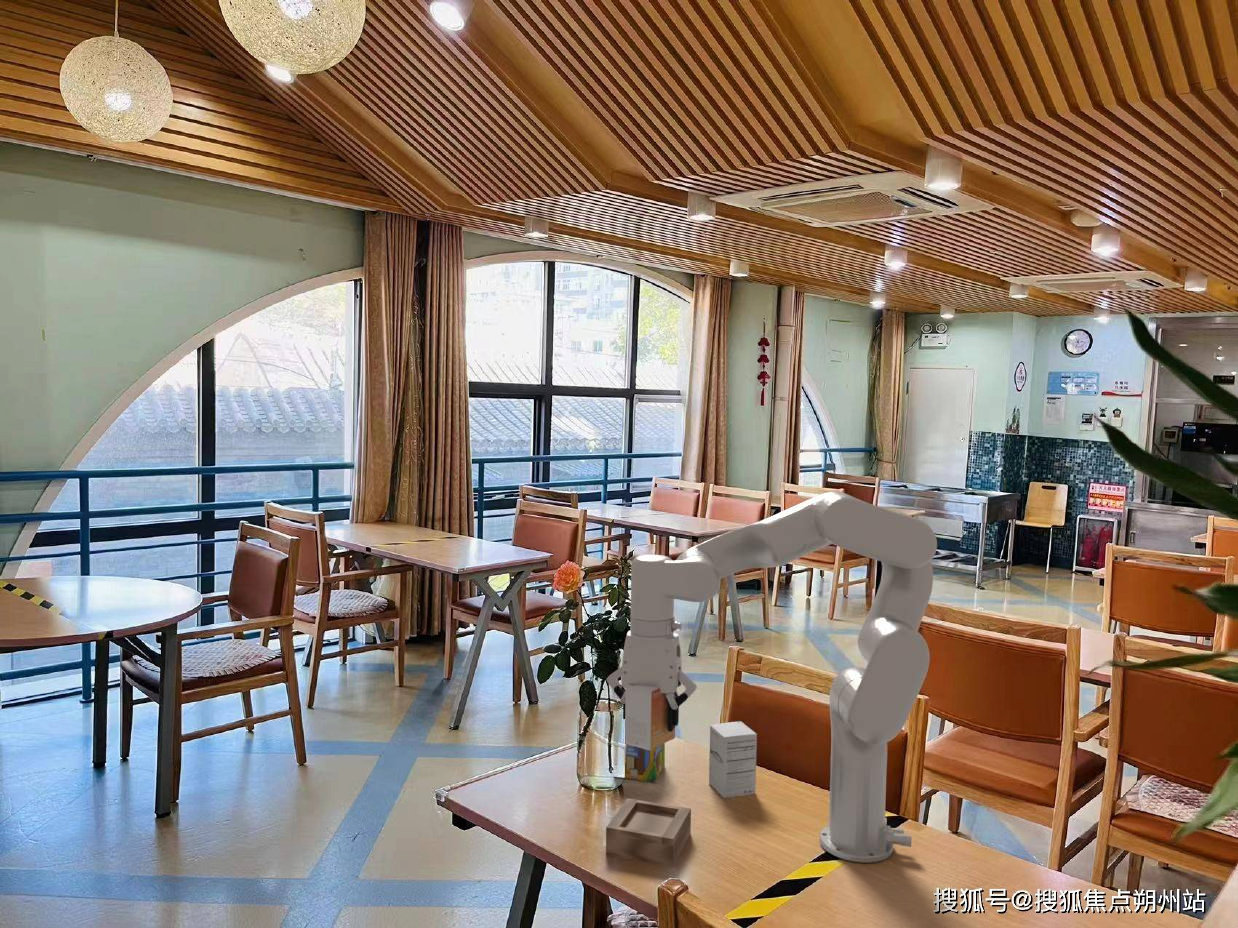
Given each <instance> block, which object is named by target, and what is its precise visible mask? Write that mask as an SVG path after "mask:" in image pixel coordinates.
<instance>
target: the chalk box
mask: <svg viewBox="0 0 1238 928" xmlns="http://www.w3.org/2000/svg"><path fill="white" fill-rule="evenodd" d="M665 745H666V744H665V743H664V744H662V745H660V746H658V747H656V748H654V749H653V750H651V751H649V750H646V749H642V748H639V747H635V746H632V745H628V744H627V749H626V763H625V779H627V780H632V781H633V780H634V781H635V780H636V781H642V782H650V783H656V781H657V780H658V778H659V776H660V774H661V773H662V772H663V770H664V769H665V765H666V764H665V763H666V762H665V761H666V760H665V758H666V757H665V754H666V752H665V750H666V749H665V747H666V746H665Z"/></svg>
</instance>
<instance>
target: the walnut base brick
mask: <svg viewBox="0 0 1238 928" xmlns="http://www.w3.org/2000/svg"><path fill="white" fill-rule="evenodd" d="M691 820H692V808H690V807H689V808H688V807H683V806H678V805H677V806H676V805H671V804H666V803H664V804H663V803H658V802H653V801H648V800H647V801H646V800H639V799H634V798H629V797H628V798H627V799H626V800H625V802H624V803H623V805H622V806H621V807H620V808H619V810H618V811H617V812H616V813H615V815H614V816H613V818H612V819H611V820H610V821H609V823H608V824H607V826H606V827H605V831H606V832H605V839H606V840H605V855H606V856H610V857H611V856H612V857H617V858H621V859H622V858H623V859H627V860H633V861H638V862H645V863H648V864H655V865H659V866H665V867H669V868H670V867H671V868H673V867H674V866H675V864H676V862H677V860H678V859H679V857H680V855H681V854H682V853H681V852H682V851H683V849H684V848H685V846H686V844H687V842H688V840H689V838H690V836H691V835H692V834H691V829H692V828H691V825H692V824H691V822H692V821H691Z"/></svg>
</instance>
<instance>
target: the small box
mask: <svg viewBox="0 0 1238 928" xmlns="http://www.w3.org/2000/svg"><path fill="white" fill-rule="evenodd" d="M625 690H626V701H625V744H628V745H632V746H635V747H639V748H642V749H646V750H649V751H651V750H653V749H654V748H656V747H658V746H660V745H662V744H664V743H667V742H670V741H673V740H674V739H675V737H676V727H675V728H674V729H673V731H672V732H669V731H668V709H669V708H670V704H669V702H668V699H667V697H666V695H665V694H662V693H661V692H660V688H657V687H650V686H638V685H626V688H625Z"/></svg>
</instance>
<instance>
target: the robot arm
mask: <svg viewBox="0 0 1238 928" xmlns="http://www.w3.org/2000/svg"><path fill="white" fill-rule="evenodd" d="M830 545H834V546H837V547H839V548H842V549H844V550H846V551H849V552H852V553H855V554H858V555H860V556H863V557H866V558H869V559H873V560H876V561H878V562H881V571H882V572H881V578H880V583H879V586H878V589H877V592H876V595H875V596H874V599H873V601H872V604H871V606H870V608H869V611H868V613H867V616H866V617H865V619H864V622H863V625H862V626H861V628H860V631H859V634H858V637H857V646H858V650H859V652H860V654H861V656H862V657H863V659H864V660H865V661H866V662H867V665H866V667H865V668H864V667H860V666H856V667H855V666H853V667H848V668H845V669H844V670H842V671H840V673H837V675H836V676H835V678H834V680H833V681H832V684H831V686H830V690H829V713H830V715H829V716H830V729H831V736H830V737H831V740H830V741H831V743H830V747H831V748H830V750H831V751H830V752H831V753H830V771H829V772H830V778H829V779H830V780H829V809H828V811H829V812H828V813H829V814H828V825H827V826H825V827H823V829H821V830H820V833H819V843H820V845H821V847H822V848H823V849H824V850H825V851H826V852H828V853H829V854H831V855H832V856H834V857H837V858H839V859H842V860H845V861H849V862H855V863H863V864H865V863H866V864H867V863H877V862H881V861H884V860H886V859H888V858H890V857H891V855H892V854H893V852H894V845H898V846H900V847H901V846H902V847H907V848H912V837H913V836H912V835H911V834H905V829H904V828H894V827H891V825H887V822H888V821H887V820H888V819H887V817H886V800H887V799H886V798H887V797H886V795H887V793H886V792H887V768H888V767H887V766H888V765H887V764H888V742H890V741H892V740H894V739H896V737H897V736H898V735H899V734H900V733H901V731H902V730H903V728H904V727H905V724H906V722H907V720H908V718H909V716H910V714H911V711H912V709H913V707H914V704H915V703H916V701H917V699H918V696H919V694H920V691H921V689H922V687H923V686H922V685H924V682H925V679H926V677H927V673H928V670H929V667H930V666H929V665H930V660H931V659H930V656H931V655H930V649H929V646H928V643H927V641H926V639H924V637H923V635H922V634H921V633H920V632H919V629H920V626H921V623H922V621H923V617H924V615H925V611H926V609H927V607H928V604H929V601H930V598H931V597H932V596H931V595H932V590H933V585H934V570H933V565H932V560H933V558H934V557H935V554H936V552H937V549H938V542H937V536H936V534H935V532H934V530H933V529H932V527H931V526H930V525H929V524H927V523H926V522H925V521H923V520H921V519H919V518H916V517H914V516H912V515H910V514H909V513H908V514H907V513H904V512H902V511H898V510H889V509H886V508H883V507H880V506H877V505H874V504H872V503H870V502H866V501H864V500H861V499H859V498H856V497H854V496H852V495H849V494H848V493H845V492H841V491H837V490H836V491H835V490H834V491H827V492H824V493H821V494H819V495H817V496H814V497H812V498H810V499H807V500H804V501H803V502H801V503H798V504H796V505H794V506H791V507H790V508H788V509H785V510H782V511H780V512H779V513H776V514H774V515H772V516H769V517H767V518H764V519H762V520H759V521H757V522H754V523H751V524H748V525H745V526H742V527H740V528H737V529H734V530H732V531H728V532H725V533H722V534H720V535H716V536H715V537H713V538H710V539H708V540H706V541H704V542H701V543H699V544H697V545H694V546H692V547H690V548H688V549H686V550H685V551H683V552H682V553H681V554H679V556H678V557H677V558H676V560H673V559H672V558H671V557H669V556H667V555H662V554H641V555H637V556H636V557H634V558H633V559H632V561H631V563H630V564H631V566H630V567H631V568H630V624H629V625H630V626H629V627H630V628H629V629H630V630H628V631H627V633H626V636H625V641H624V647H623V654H622V661H621V663H622V664H621V666H620V667H619V668H617V670H615V671H614V672H612V673H611V674H609V676H607V678H606V682H607V684H608V685H609V686H610V687H611V688H612V689H613V692H614V693H615V695H617V697H618V698H619V699H620V702H621V703H622V714H623V719H625V701H626V685H638V686H650V687H657V688H660V692H661V693H662V694H665V695H666V697H667V699H668V702H669V704H670V708H669V709H668V731H669V732H672V731H673V729H674V728H675V729H676V727H677V726H679V722H680V721H679V719H680V718H679V715H680V714H679V713H680V709H679V708H680V706H682V704H684V703H685V702H687V699H688V698H690V697H691V696H692V695H693V693H694V692H696V690H697V688H698V686H697V685H696V683H695V682H694V681H692V680H691V679H690V677H688V676H687V675H686V674H685V673H684V671H683V665H682V662H683V661H682V653H681V651H682V650H681V644H680V643H681V642H680V638H679V634H678V633H676V631H681V630H682V629H683V627H682V626H683V623H682V622H679V621H676V619H675V615H674V614H675V613H674V610H675V600H677V601H678V600H679V601H685V602H691V603H704V602H707V601H709V600H711V599H713V598H714V597H715V596H716V595H717V594H718V592H719V590H720V587H721V579H723V578H726V577H728V576H730V575H733V574H735V573H738V572H742V571H745V570H749V569H750V570H751V569H755V568H757V569H758V568H766V569H767V568H768V569H769V568H778V567H782V566H785V565H788V564H789V563H792V562H794V561H796V560H798V559H800V558H803V557H805V556H807V555H809V554H811V553H812V554H813V553H814V552H816V551H818V550H821V549H823V548H825V547H828V546H830ZM620 677H621V679H620V680H621V682H620V681H619V680H618V679H619V678H620ZM681 686H684V688H685V690H684V691H683V692H682V693H681V694H679V693H678V691H677V690H678V688H679V687H681Z"/></svg>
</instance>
